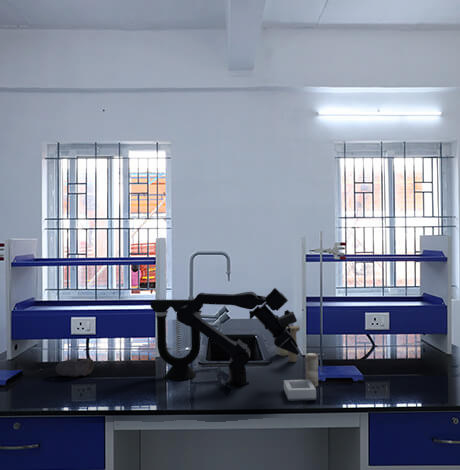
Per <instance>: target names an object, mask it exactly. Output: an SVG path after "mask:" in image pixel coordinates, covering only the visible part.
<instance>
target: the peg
mask: <svg viewBox="0 0 460 470" xmlns="http://www.w3.org/2000/svg"><path fill="white" fill-rule="evenodd" d="M318 356H319V355H318V353H317V354H316V353H313V352H309V353H305V380H310V381H311V382H312V384H313V385H314V387H315V388H317V387H318V386H319V364H318V363H319V357H318Z"/></svg>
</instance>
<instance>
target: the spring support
mask: <svg viewBox="0 0 460 470" xmlns="http://www.w3.org/2000/svg"><path fill="white" fill-rule="evenodd" d="M193 300H194V299H154V300H151V302H150V308H151V309H152V310H153V311H154V312H155V314H156V315H155V317H156V329H157V330H156V331H157V332H156V333H157V336H156V340H157V342H156V343H157V346H156V347H157V351H158V354H159V355H160V358H161V359H162V361H164V362H165V363H166V364H168V365H169V366H171V367H170V368H169V369H168V371H167V372H166V374H165V375H164V377H165V379H167V380H170V381H171V380H172V381H185V380H189V379H192V378H195V377H196V375H197V374H196V372H195V371H194V370H193V368H192V367H190V364H192V363H193V362H195V361H196V359H197V358H198V356H199V354H200V350H201V332H200V331H198V330H197V329H196V328H193V327H190V328H191V329H190V331H191V333H190V335H191V336H190V337H191V348H190V351H189V353H187V354H186V355H185V356H181V355H182V349H181V348H182V347H181V346H182V345H181V344H182V340H181V339H182V338H181V337H182V336H181V335H182V329H181V328H182V327H181V326H182V325H181V324H182V323H181V322H179V321H178V320H177V316H176V317H175V334H176V335H175V336H176V337H175V344H176V345H175V346H176V350H175V351H176V356H173V354H172V353H170V352H169V350H168V348H167V329H166V328H167V327H166V326H167V325H166V322H167V321H166V319H167V317H168V313H169V309H170V308H172V309H173V311H174V312H175V314H177V311H178V310H179V309H180V308H181V307H182V306H184V305H188V304H189V303H191V302H192V301H193ZM203 307H204V304H202V305H201V306H200V307H199V308H198V309H197V310H196V311H197V312H198V314H199V315H200V317H201V314H202V311H203V310H202V308H203ZM178 353H179V354H178Z"/></svg>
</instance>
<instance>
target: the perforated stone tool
mask: <svg viewBox="0 0 460 470" xmlns="http://www.w3.org/2000/svg"><path fill="white" fill-rule="evenodd" d="M93 370H94V360H93V358H84V357H83V358H72V359H71V358H69V359H65V360H63V361H61V362H59V363H57V364H56V367H55V371H56V374H58V375H60V376H63V377H67V376H68V377H69V378H70V377H73V378H78V377H80V376H82V377H86V376H87V375H90V374H91V373H93Z"/></svg>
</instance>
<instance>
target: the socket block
mask: <svg viewBox="0 0 460 470" xmlns="http://www.w3.org/2000/svg"><path fill="white" fill-rule="evenodd" d="M283 391H284V393H285V396H286V398H287V401H292V402H293V401H317V387H314V385H313V384H312V382H311V381H310V380H306V379H284V380H283Z"/></svg>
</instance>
